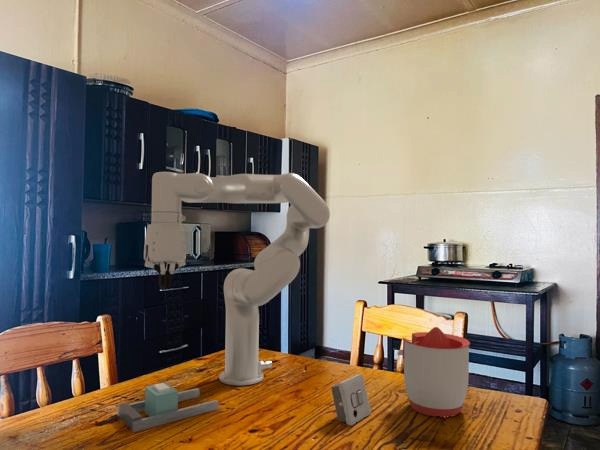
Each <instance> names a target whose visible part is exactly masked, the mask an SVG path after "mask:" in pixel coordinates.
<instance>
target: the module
mask: <svg viewBox="0 0 600 450" xmlns="http://www.w3.org/2000/svg"><path fill="white" fill-rule="evenodd" d="M144 389H145V390H144V400H145V410H144V413H145V414H146V415H147V416H148V417H151V416H155V415H158V414H162V413H166V412H170V411H174V410H178V409H179V408H178V404H179V402H178V392H179V391H178V389H176V388H174V386H172V385H170V384H169V383H167V381H166V382H160V383H155V384H152V385H147V386H145V387H144Z"/></svg>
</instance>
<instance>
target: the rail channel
mask: <svg viewBox="0 0 600 450" xmlns="http://www.w3.org/2000/svg"><path fill="white" fill-rule="evenodd" d="M197 398H200V388H199V387H196V388H192V389H185V390H184V391H178V403H179V402H180V403H181V402H185V401H187V400H188V401H189V400H191V399H192V400H193V399H197ZM217 410H219V401H218V400H217V399H215V400H211V401H205V402H202V403H198V404H195V405H190V406H186V407H183V408H178V410H174V411H170V412H166V413H162V414H158V415H155V416H151V417H150V416H147V417H143V416H142V415H141V414H140V413H139V412H142V411H145V399H144V400H143V399H142V400H139V401H135V402H130V403H123V404H120V405H117V416H118V417H119V418H120V419H121V420H122V421H123V423H125V425H126V426H128V428H129V429H130V430H131V431H132V432H133V433H136V432H141V431H145V430H148V429H152V428H154V427H158V426H163V425H166V424H169V423H173V422H176V421H181V420H184V419H188V418H191V417H192V418H193V417H196V416H199V415H203V414H206V413H209V412H213V411H217Z"/></svg>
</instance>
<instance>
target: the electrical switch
mask: <svg viewBox="0 0 600 450" xmlns="http://www.w3.org/2000/svg"><path fill="white" fill-rule="evenodd" d="M330 389H331V393H332V398H333V403H334V407H335V412H336V417H337V421H338V422H339V421H342V422H344V423H346V425H347V426H348V425H351V426H354V425H355V424H356V422H357V423H358V422H360V421H361V420H363V419H364V417H365V418H367V416H369V415H371V412H372V409H371V404H370V402H369V397H368V391H367V388H366V385H365V380H364V376H363V374H362V373H357V374H356V375H353V376H351V377H349V378H347V379H345V380H343V381H341V382H338V383H336V384H334V385H331V386H330Z"/></svg>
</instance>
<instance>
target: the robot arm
mask: <svg viewBox="0 0 600 450" xmlns="http://www.w3.org/2000/svg"><path fill="white" fill-rule="evenodd" d="M182 202H184V203H190V204H191V203H196V204H197V203H208V204H209V203H210V204H211V203H225V204H227V203H228V204H283V203H289V204H290V206H289V208H288V209H287V212H286V227H285V229H284V231H283V233H281V235H280V236H278V237H277V238H276V239H274V241H273V242H271V243H269V244H268V246H266V247H264V249H262V250H261V251H260V252H259V253H258V254H257V255H256V257H255V259H254V261H253V263H254V264H253V265H254V270H253V269H248V268H237V269H233V270H232V271H230V272H229V273H228V274H227V276H226V277H225V279H224V283H223V295H224V304H225V305H224V306H225V338H224V339H225V342H224V343H225V345H224V347H225V348H224V350H225V351H224V352H225V353H224V354H225V355H224V371H222V372H220V373H219V378H218V379H219V381H220V382H221V383H223V384H225V385H228V386H250V385H254V384H255V385H256V384H258V383H260V382H261V381H262V380H263V379H264V373H263V371H264V369H269V368H272V366H273V362H272V361H271V360H267V361H263V360H259V348H260V347H259V342H260V341H259V336H260V335H259V334H260V329H259V328H260V327H259V325H260V313H259V312H260V310H259V307H260V306H263V305H265V304H267V303H269V302H270V300H272V299H274V297H276V296H277V295H278V294H279V293H280V292H281V291H283V290H284V289H285V288H286V287H287V286H289V284H291V283H292V282H293V280H295V278H296V277H297V275H298V273H299V272H300V267H301V261H300V256H301V255H302V254H303V253H304V252H305V250H306V248H307V247H308V244H309V239H310V229H320V228H322V227H325V226H326V224H327V223H328V222H329V220H330V217H331V212H330V208H329V206H328V204H327V202H325V200H324V199H323V197H321V196H320V195H319V194H318V193H317V192H316V190H315V189H314V188H312V186H311V185H309V183H308V182H307V181H306V180H305V179H303V177H301V176H300V175H299V174H296V173H294V172H287V173H284V174H283V173H282V174H259V173H258V174H256V173H254V174H253V173H238V174H237V173H236V174H231V175H224V176H215V177H212V176H208V175H206V174H204V173H200V172H193V173H177V172H172V171H159V172H155V173H153V175H152V178H151V221H150V223H151V224H147V228H146V233H145V240H144V246H143V247H144V248H143V260H144V267H146V268H150V269H153V270H155V272H156V273H157V274H158V286H159V289H160V290H163V291H165V290H171V288H172V287H171V286H172V285H173V275H174V274H175V271H176V270H177V269H178V268H181V267H184V266H186V263H187V262H186V259H187V242H186V241H187V240H186V238H187V237H186V232H185V228H184V227H185V226H184V225H183V224H182V223H183V221H186V219H187V217H186V215H183V213H182ZM165 263H166V266H165Z"/></svg>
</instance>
